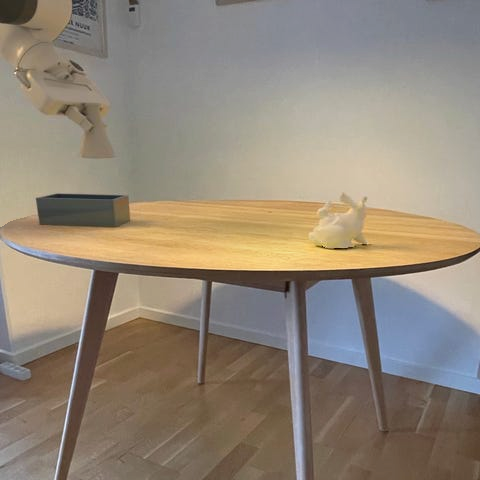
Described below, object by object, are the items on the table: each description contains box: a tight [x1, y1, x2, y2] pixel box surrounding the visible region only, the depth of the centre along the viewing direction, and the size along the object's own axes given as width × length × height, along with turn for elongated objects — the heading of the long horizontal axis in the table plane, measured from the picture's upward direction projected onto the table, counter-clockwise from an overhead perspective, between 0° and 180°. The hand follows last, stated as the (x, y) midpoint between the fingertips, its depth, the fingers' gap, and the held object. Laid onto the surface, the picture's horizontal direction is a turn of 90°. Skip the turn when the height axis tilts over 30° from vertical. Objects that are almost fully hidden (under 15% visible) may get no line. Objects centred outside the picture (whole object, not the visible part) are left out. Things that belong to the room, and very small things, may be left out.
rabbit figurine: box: [308, 192, 371, 249], centre depth 81 cm, size 12×8×10 cm, turn 89°
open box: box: [35, 192, 131, 228], centre depth 103 cm, size 17×9×6 cm, turn 83°
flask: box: [77, 103, 117, 160], centre depth 91 cm, size 7×7×10 cm
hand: (97, 129), depth 91 cm, fingers closed on flask, 3 cm apart
